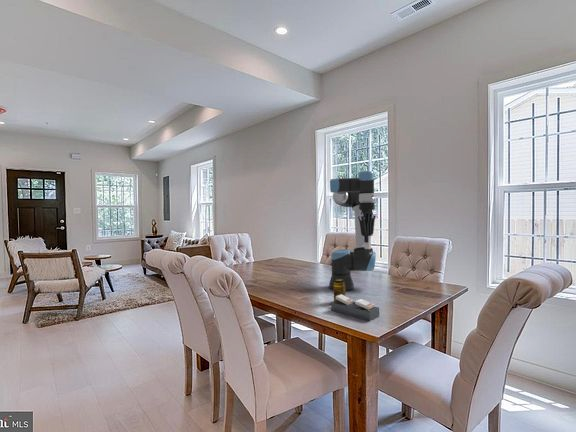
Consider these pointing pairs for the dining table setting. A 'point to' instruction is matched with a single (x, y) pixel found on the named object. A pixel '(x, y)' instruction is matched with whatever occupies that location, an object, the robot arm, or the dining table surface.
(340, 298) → the rocker
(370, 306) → the block
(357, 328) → the dining table surface
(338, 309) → the power strip
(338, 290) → the condiment
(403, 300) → the dining table surface
